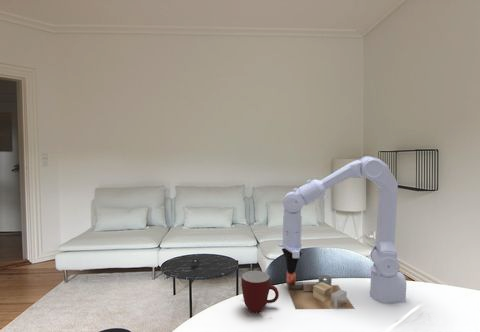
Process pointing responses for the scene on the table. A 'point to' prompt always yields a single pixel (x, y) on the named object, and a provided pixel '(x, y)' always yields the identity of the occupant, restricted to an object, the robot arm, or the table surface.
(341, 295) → the brown grey rectangular block
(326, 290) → the tan cube
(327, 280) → the lever
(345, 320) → the table surface
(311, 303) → the board
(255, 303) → the mug
